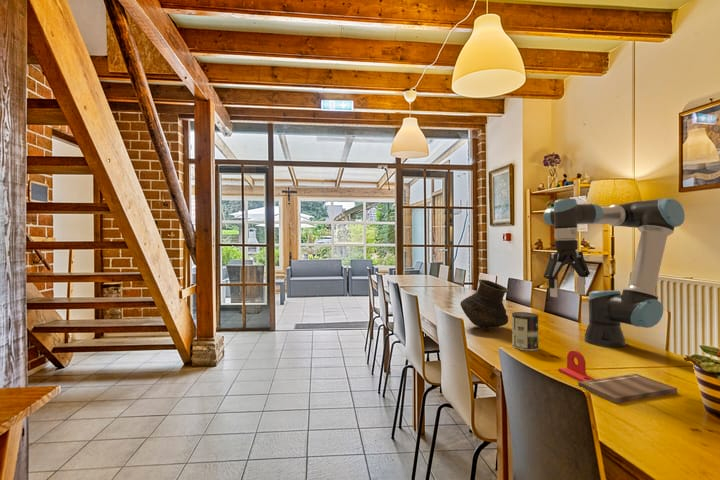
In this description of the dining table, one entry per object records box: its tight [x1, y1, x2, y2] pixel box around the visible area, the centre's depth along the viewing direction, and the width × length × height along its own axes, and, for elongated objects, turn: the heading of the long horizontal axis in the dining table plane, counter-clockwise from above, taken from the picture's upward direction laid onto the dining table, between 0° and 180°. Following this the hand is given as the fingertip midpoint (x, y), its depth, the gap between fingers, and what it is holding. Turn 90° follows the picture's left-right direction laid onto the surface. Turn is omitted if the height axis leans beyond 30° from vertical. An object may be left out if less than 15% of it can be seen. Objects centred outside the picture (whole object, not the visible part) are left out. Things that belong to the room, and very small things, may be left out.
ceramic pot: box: [460, 279, 509, 329], centre depth 186 cm, size 24×24×22 cm
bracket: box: [557, 350, 596, 382], centre depth 119 cm, size 12×4×8 cm, turn 11°
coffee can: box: [511, 311, 539, 352], centre depth 153 cm, size 10×10×14 cm
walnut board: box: [577, 373, 678, 404], centre depth 109 cm, size 24×12×2 cm, turn 106°
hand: (567, 295), depth 137 cm, fingers open, 13 cm apart
